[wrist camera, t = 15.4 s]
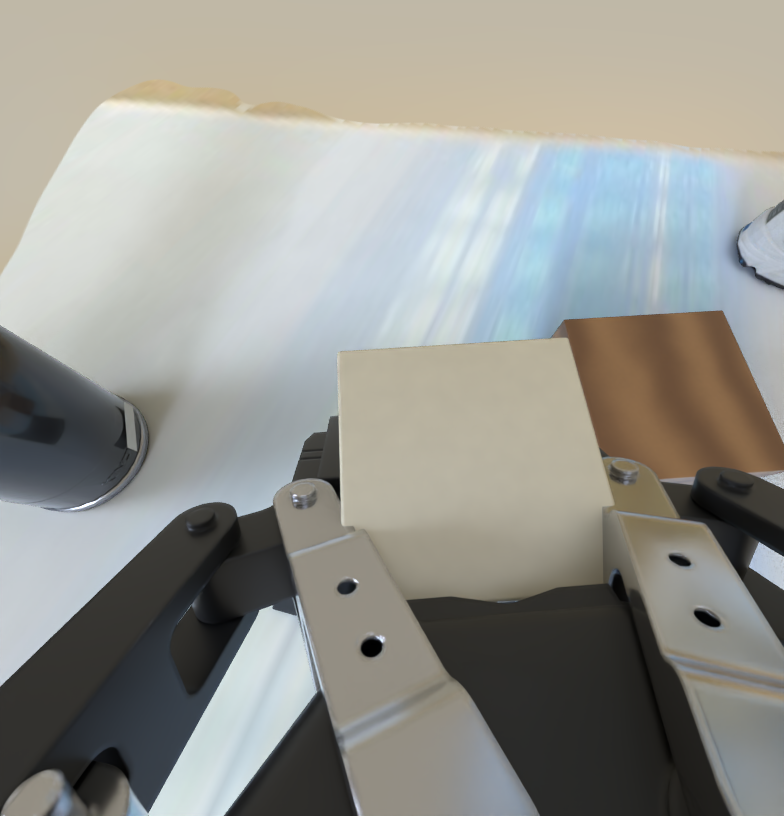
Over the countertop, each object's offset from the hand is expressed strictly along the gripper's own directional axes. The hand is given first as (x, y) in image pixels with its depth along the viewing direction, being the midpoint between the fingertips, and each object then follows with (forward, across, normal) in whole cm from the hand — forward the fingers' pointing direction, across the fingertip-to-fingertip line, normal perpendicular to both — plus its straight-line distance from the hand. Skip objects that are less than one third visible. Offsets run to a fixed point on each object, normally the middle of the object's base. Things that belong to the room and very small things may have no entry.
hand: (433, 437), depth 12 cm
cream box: (+1, 0, +4) cm, 4 cm away
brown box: (+17, -18, +9) cm, 26 cm away
